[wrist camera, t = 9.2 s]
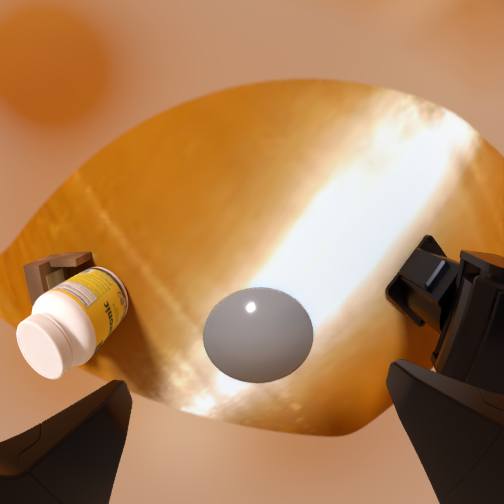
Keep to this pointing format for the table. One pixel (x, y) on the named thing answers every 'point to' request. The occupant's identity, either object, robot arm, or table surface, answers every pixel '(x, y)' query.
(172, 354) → the table surface
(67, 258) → the bracket
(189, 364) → the table surface
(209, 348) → the slate coaster
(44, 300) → the supplement bottle
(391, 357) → the table surface
